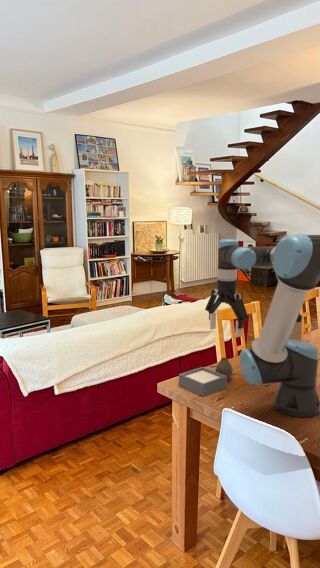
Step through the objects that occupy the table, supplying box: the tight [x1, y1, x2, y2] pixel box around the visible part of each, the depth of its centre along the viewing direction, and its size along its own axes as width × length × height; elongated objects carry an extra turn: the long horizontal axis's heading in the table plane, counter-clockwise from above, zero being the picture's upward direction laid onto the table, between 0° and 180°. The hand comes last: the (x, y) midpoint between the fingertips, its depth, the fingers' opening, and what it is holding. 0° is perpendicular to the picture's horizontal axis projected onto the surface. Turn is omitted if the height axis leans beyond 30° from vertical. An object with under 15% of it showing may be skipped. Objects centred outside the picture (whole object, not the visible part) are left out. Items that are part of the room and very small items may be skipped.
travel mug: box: [289, 313, 303, 341], centre depth 201 cm, size 8×8×20 cm
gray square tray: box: [178, 366, 228, 397], centre depth 167 cm, size 13×13×5 cm
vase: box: [214, 357, 234, 382], centre depth 174 cm, size 7×7×9 cm
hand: (225, 332), depth 172 cm, fingers open, 13 cm apart
